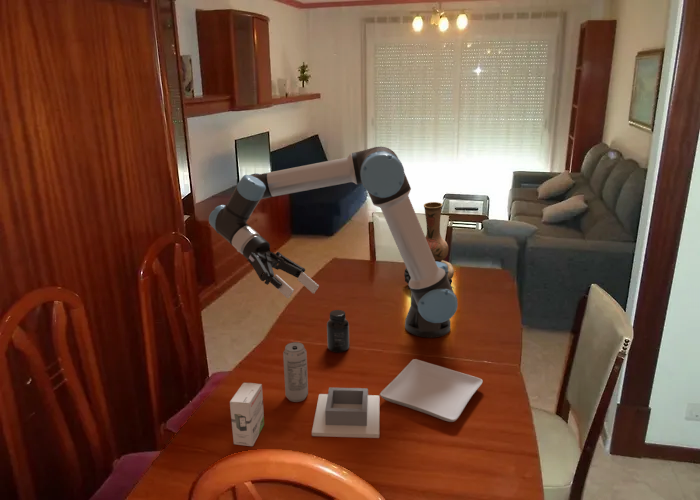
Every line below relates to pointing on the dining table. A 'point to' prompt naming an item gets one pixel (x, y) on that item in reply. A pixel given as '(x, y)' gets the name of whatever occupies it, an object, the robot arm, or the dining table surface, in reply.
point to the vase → (434, 238)
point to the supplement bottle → (338, 331)
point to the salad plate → (432, 390)
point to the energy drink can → (295, 371)
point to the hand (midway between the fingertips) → (304, 292)
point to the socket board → (347, 414)
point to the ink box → (247, 414)
